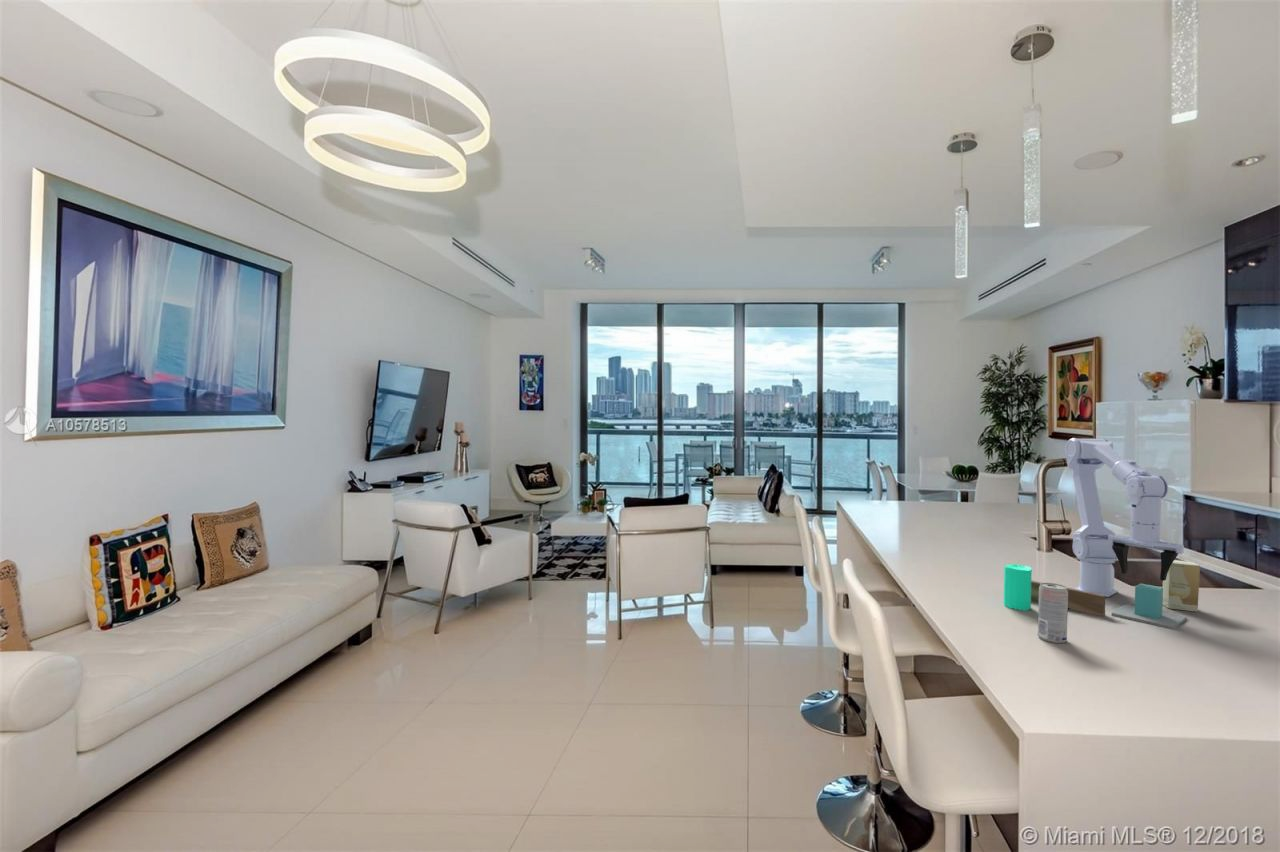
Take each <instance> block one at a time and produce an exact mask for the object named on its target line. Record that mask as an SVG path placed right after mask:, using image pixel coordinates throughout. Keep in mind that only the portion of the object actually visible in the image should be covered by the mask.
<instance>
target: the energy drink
mask: <svg viewBox="0 0 1280 852" xmlns="http://www.w3.org/2000/svg"><path fill="white" fill-rule="evenodd" d="M1067 588H1068V587H1067V586H1065V585H1063V584H1059V583H1053V582H1042V583H1041V584H1040V586H1039V602H1038V610H1037V612H1038V613H1037V615H1038V616H1037V617H1038V618H1037V636H1038V637H1039V639H1040V640H1043V641H1044V642H1045V641H1046V642H1049V643H1052V644H1054V643H1055V644H1064V643H1067V641H1068V612H1069V611H1068V610H1069V609H1068V590H1067Z"/></svg>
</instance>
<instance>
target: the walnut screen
mask: <svg viewBox="0 0 1280 852" xmlns="http://www.w3.org/2000/svg"><path fill="white" fill-rule="evenodd" d="M1041 583H1043V582H1041V581H1036V580H1032V579H1031V601H1033V600H1034V601H1033V602H1037V601H1038V602H1037V603H1039V586H1040V584H1041ZM1067 590H1068V608H1070V609H1069V610H1073V609H1074V610H1073V611H1078V612H1082V613H1087V614H1091V615H1095V616H1100V617H1105V616H1106V600H1107V599H1106V598H1107V597H1106V595H1101V594H1096V593H1091V592H1086V591H1081V590H1076V589H1075V588H1071V587H1067Z"/></svg>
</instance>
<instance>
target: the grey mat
mask: <svg viewBox="0 0 1280 852" xmlns="http://www.w3.org/2000/svg"><path fill="white" fill-rule="evenodd" d="M1111 616H1113V617H1118V618H1122V619H1127V620H1131V621H1136V622H1140V623H1143V624H1148V625H1149V624H1150V625H1153V626H1159V627H1163V628H1167V629H1172V630H1176V629H1177V628H1178V627H1179V626H1180V625H1181V624H1182V623H1184V622H1185V621H1186V620H1187V616H1185V615H1181V614H1175V613H1170V612H1167V611H1162V616H1161V617H1160V618H1159V619H1155V618H1150V617H1145V616H1141V615H1136V614H1135V605H1132V604H1128V603H1127V604H1126V603H1125V604H1124V605H1121V606H1120V607H1119V608H1117V609H1115V610H1114V611H1112V612H1111Z"/></svg>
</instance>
